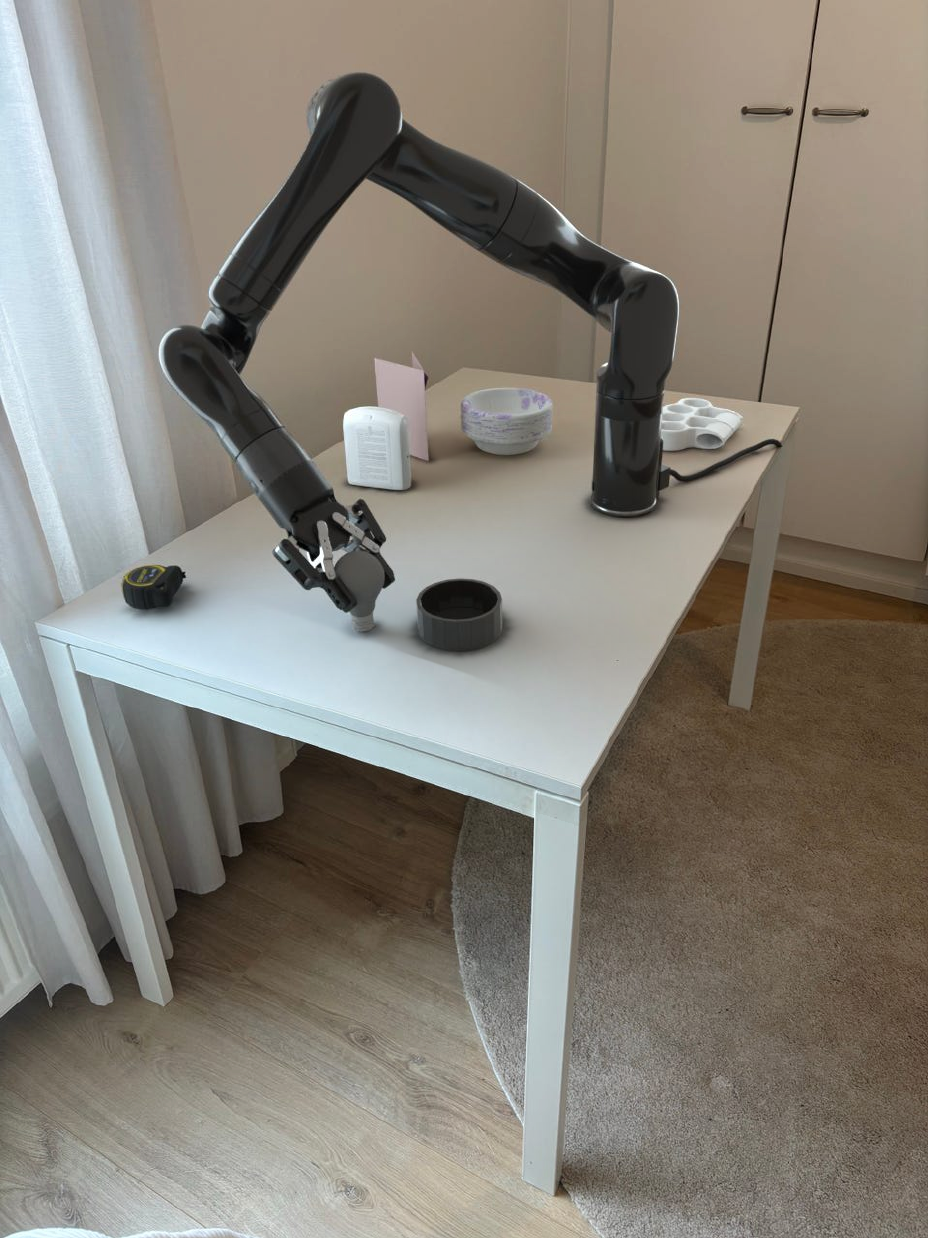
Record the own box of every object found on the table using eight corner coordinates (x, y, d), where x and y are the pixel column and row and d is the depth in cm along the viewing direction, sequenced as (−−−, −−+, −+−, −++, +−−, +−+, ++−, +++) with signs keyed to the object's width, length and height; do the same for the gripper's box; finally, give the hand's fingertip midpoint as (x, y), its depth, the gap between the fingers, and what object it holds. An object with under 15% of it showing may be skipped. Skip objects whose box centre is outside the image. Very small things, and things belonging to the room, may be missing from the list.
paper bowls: (567, 438, 162) (568, 393, 158) (523, 469, 152) (524, 421, 147) (491, 424, 170) (490, 380, 165) (444, 452, 159) (442, 406, 155)
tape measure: (172, 615, 116) (166, 589, 114) (117, 615, 116) (110, 589, 114) (188, 587, 122) (183, 561, 120) (136, 587, 122) (130, 562, 120)
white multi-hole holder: (715, 459, 153) (629, 445, 159) (746, 423, 166) (666, 411, 172) (718, 439, 151) (631, 425, 157) (749, 405, 164) (667, 393, 171)
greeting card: (433, 460, 156) (429, 370, 148) (389, 465, 155) (382, 374, 147) (421, 436, 166) (416, 350, 158) (379, 440, 164) (372, 354, 156)
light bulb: (380, 644, 109) (374, 568, 104) (331, 640, 110) (322, 564, 105) (394, 617, 114) (388, 543, 109) (346, 613, 115) (338, 539, 110)
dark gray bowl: (462, 598, 117) (461, 570, 115) (519, 628, 111) (519, 598, 109) (401, 628, 112) (399, 599, 110) (457, 661, 106) (456, 631, 104)
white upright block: (415, 482, 149) (411, 405, 142) (406, 493, 145) (401, 415, 139) (355, 476, 151) (348, 400, 145) (344, 486, 148) (336, 409, 141)
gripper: (250, 482, 101) (344, 610, 101) (341, 440, 111) (427, 557, 111) (224, 516, 106) (313, 637, 106) (313, 473, 116) (395, 584, 116)
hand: (371, 596), depth 109 cm, fingers closed on light bulb, 6 cm apart
